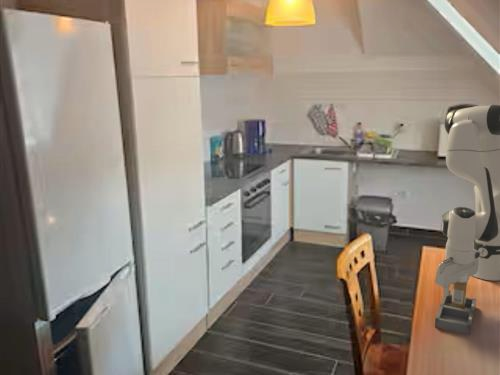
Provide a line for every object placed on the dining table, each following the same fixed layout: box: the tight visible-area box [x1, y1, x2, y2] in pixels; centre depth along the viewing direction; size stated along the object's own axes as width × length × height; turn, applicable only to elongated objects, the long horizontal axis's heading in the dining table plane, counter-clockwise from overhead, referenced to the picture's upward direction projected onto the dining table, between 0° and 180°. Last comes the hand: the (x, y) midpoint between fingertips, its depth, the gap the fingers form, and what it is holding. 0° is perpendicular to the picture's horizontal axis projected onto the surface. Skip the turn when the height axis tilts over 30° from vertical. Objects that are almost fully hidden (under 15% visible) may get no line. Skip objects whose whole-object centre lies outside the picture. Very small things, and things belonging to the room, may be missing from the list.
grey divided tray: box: [434, 293, 477, 336], centre depth 162 cm, size 20×10×4 cm, turn 150°
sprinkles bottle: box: [451, 274, 469, 309], centre depth 165 cm, size 5×5×13 cm
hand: (454, 291), depth 165 cm, fingers open, 8 cm apart
